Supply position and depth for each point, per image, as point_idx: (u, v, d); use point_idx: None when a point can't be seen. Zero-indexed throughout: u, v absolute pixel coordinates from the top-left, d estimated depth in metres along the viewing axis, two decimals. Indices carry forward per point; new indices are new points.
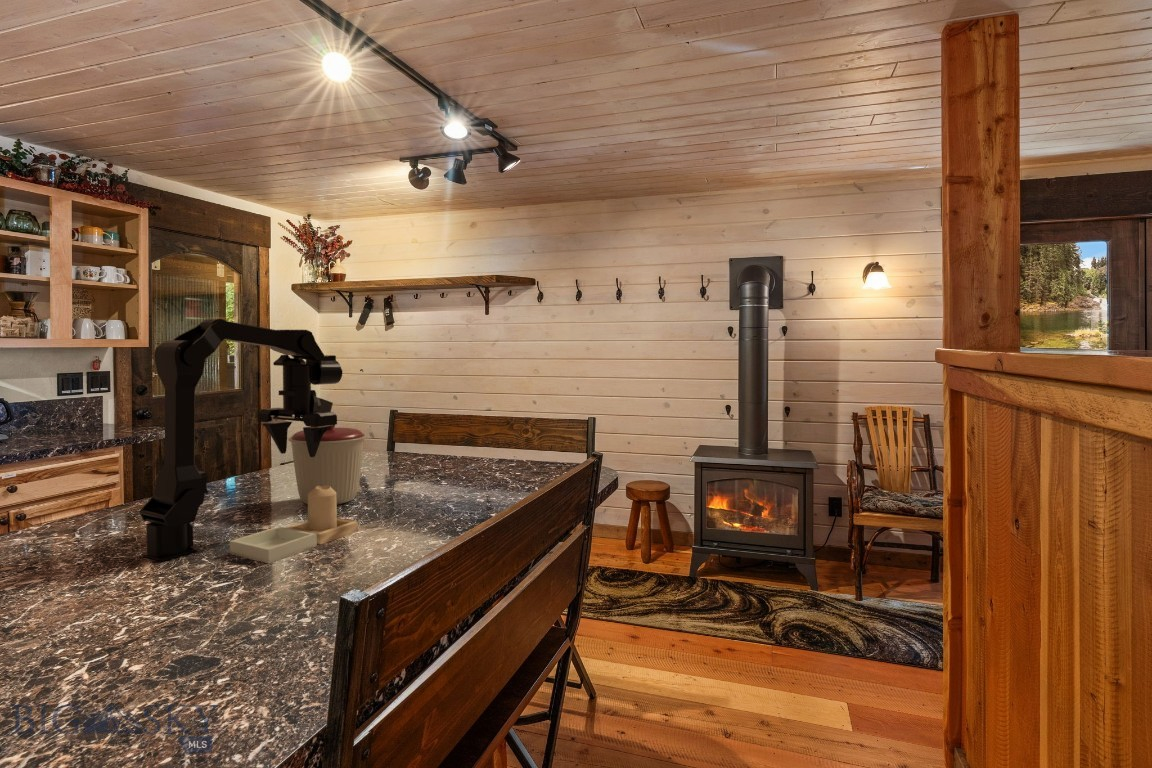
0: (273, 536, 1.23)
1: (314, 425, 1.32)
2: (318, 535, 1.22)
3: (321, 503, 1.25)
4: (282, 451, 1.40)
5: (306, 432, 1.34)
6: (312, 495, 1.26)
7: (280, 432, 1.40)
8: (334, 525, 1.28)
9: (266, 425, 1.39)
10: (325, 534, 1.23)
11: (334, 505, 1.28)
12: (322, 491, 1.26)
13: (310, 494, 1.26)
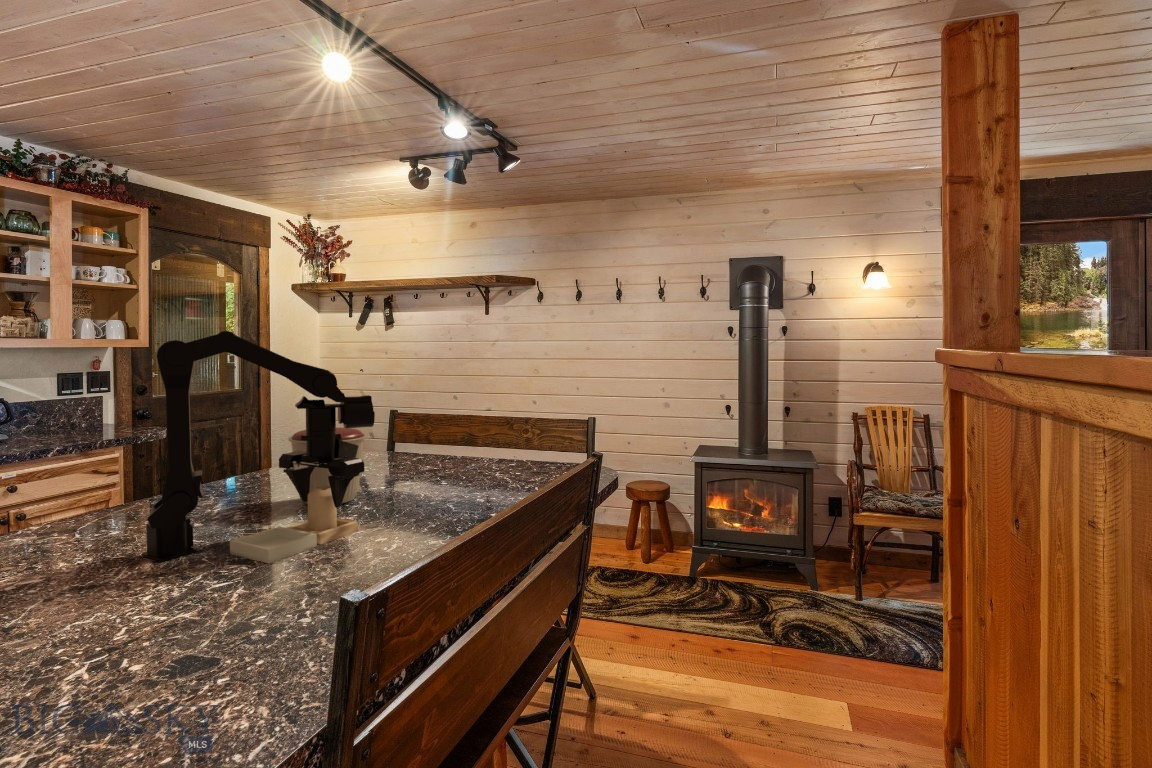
0: (273, 536, 1.23)
1: (340, 475, 1.21)
2: (318, 535, 1.22)
3: (321, 503, 1.25)
4: (305, 499, 1.30)
5: (332, 482, 1.23)
6: (312, 495, 1.26)
7: (302, 479, 1.29)
8: (334, 525, 1.28)
9: (287, 472, 1.28)
10: (325, 534, 1.23)
11: (334, 505, 1.28)
12: (322, 491, 1.26)
13: (310, 494, 1.26)
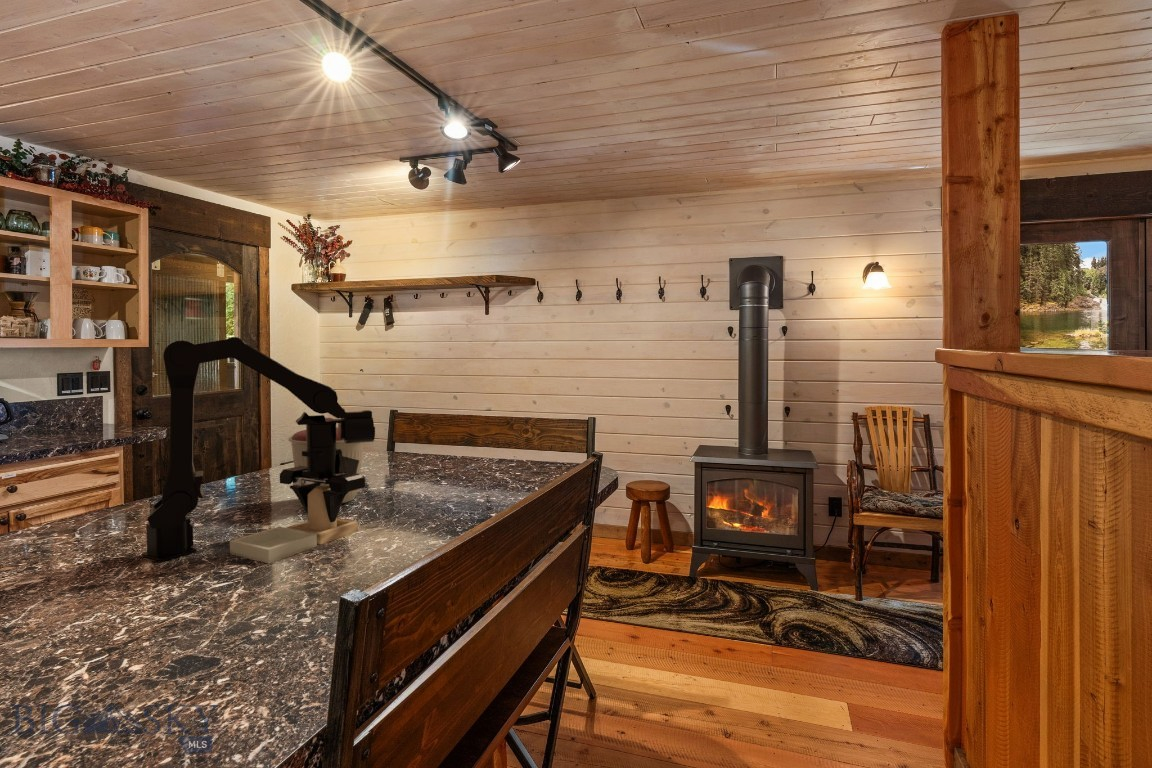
0: (273, 536, 1.23)
1: (341, 491, 1.21)
2: (318, 535, 1.22)
3: (321, 503, 1.26)
4: None
5: (326, 497, 1.24)
6: (312, 495, 1.26)
7: None
8: (334, 525, 1.28)
9: (294, 488, 1.27)
10: (325, 534, 1.23)
11: None
12: (322, 491, 1.26)
13: (310, 494, 1.26)
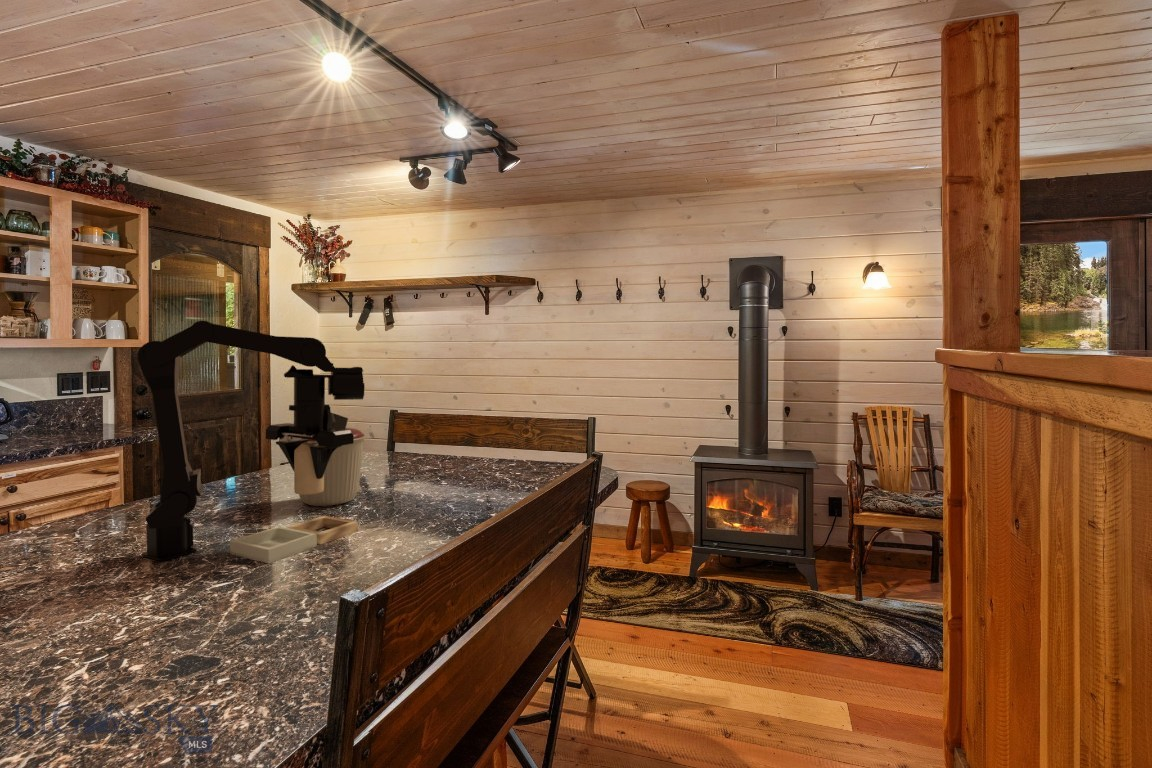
0: (273, 536, 1.23)
1: (329, 445, 1.18)
2: (318, 535, 1.22)
3: (308, 459, 1.22)
4: None
5: (313, 452, 1.21)
6: (298, 450, 1.23)
7: None
8: (321, 482, 1.25)
9: (280, 444, 1.24)
10: (325, 534, 1.23)
11: None
12: (309, 447, 1.23)
13: (297, 449, 1.23)
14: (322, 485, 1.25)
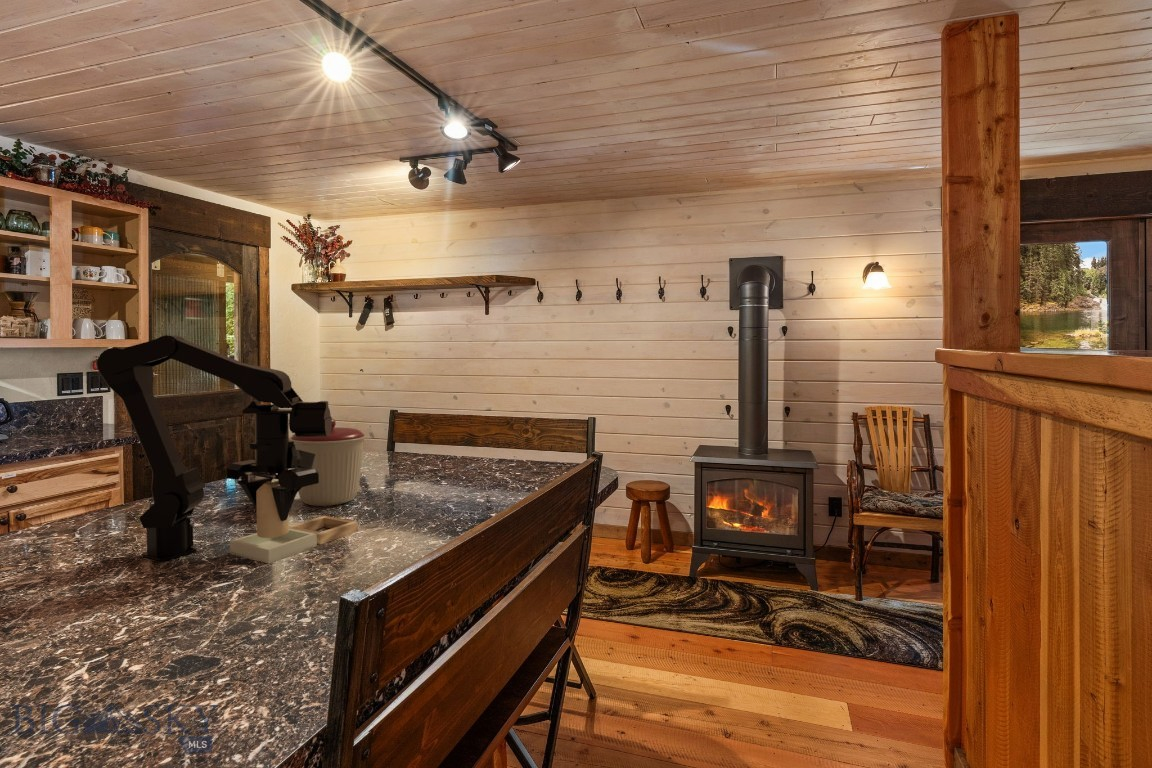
0: None
1: (290, 487, 1.11)
2: (318, 535, 1.22)
3: (270, 500, 1.15)
4: None
5: (275, 493, 1.13)
6: (260, 491, 1.15)
7: None
8: (285, 524, 1.17)
9: (242, 484, 1.17)
10: (325, 534, 1.23)
11: None
12: None
13: (259, 490, 1.16)
14: (287, 527, 1.18)
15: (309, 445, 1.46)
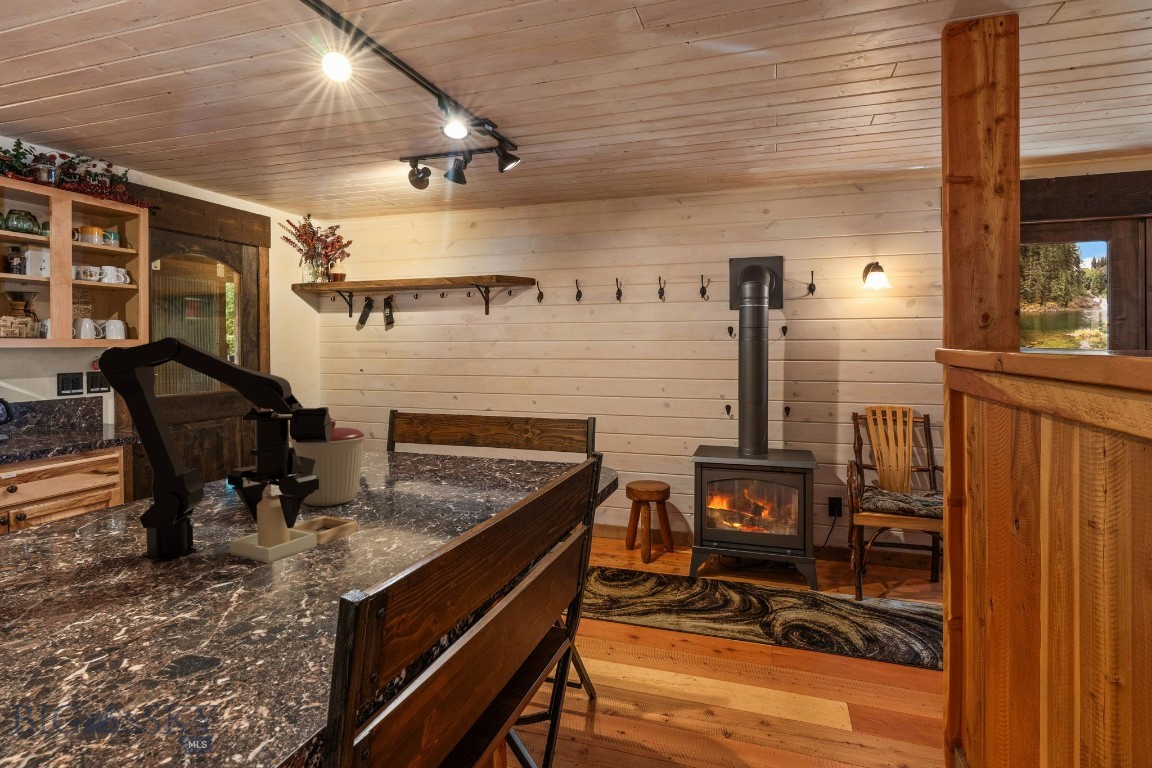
0: None
1: (291, 493, 1.11)
2: (318, 535, 1.22)
3: (270, 514, 1.15)
4: (256, 519, 1.19)
5: (282, 501, 1.13)
6: (261, 505, 1.15)
7: (253, 496, 1.19)
8: (286, 538, 1.18)
9: (236, 489, 1.18)
10: (325, 534, 1.23)
11: None
12: (272, 501, 1.16)
13: (259, 504, 1.16)
14: (287, 540, 1.18)
15: (309, 445, 1.46)
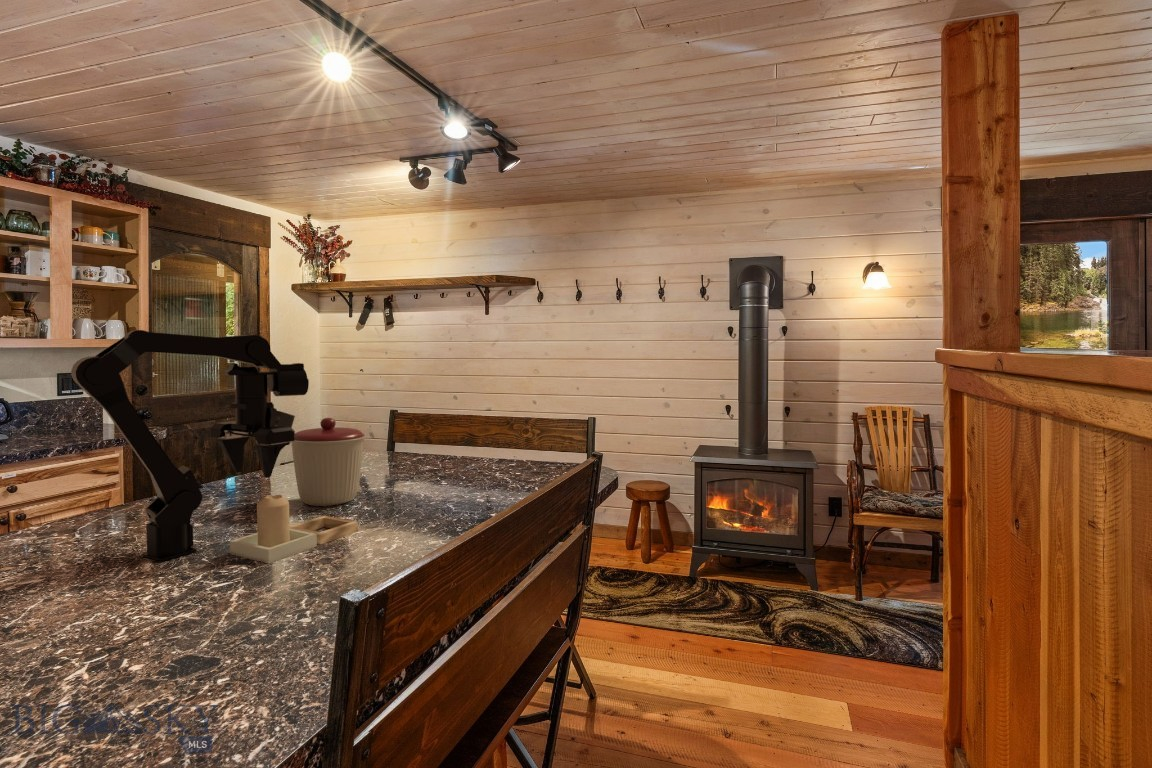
0: None
1: (266, 442, 1.17)
2: (318, 535, 1.22)
3: (271, 514, 1.15)
4: (237, 470, 1.26)
5: (259, 450, 1.19)
6: (261, 505, 1.15)
7: (235, 449, 1.26)
8: (286, 538, 1.18)
9: (219, 441, 1.25)
10: (325, 534, 1.23)
11: (286, 516, 1.17)
12: (272, 501, 1.16)
13: (259, 504, 1.16)
14: (287, 540, 1.18)
15: (309, 445, 1.46)
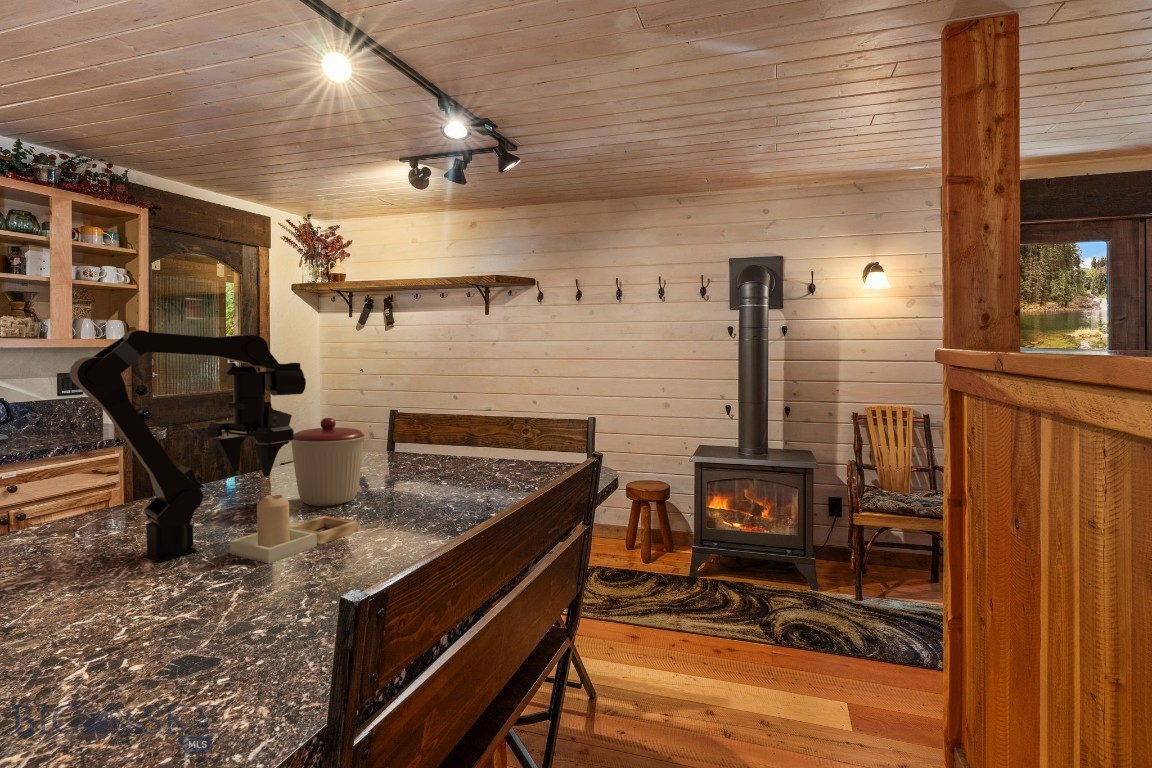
0: None
1: (266, 441, 1.18)
2: (318, 535, 1.22)
3: (271, 514, 1.15)
4: (234, 469, 1.27)
5: (258, 449, 1.20)
6: (261, 505, 1.15)
7: (232, 448, 1.27)
8: (286, 538, 1.18)
9: (216, 440, 1.25)
10: (325, 534, 1.23)
11: (286, 516, 1.17)
12: (272, 501, 1.16)
13: (259, 504, 1.16)
14: (287, 540, 1.18)
15: (309, 445, 1.46)
